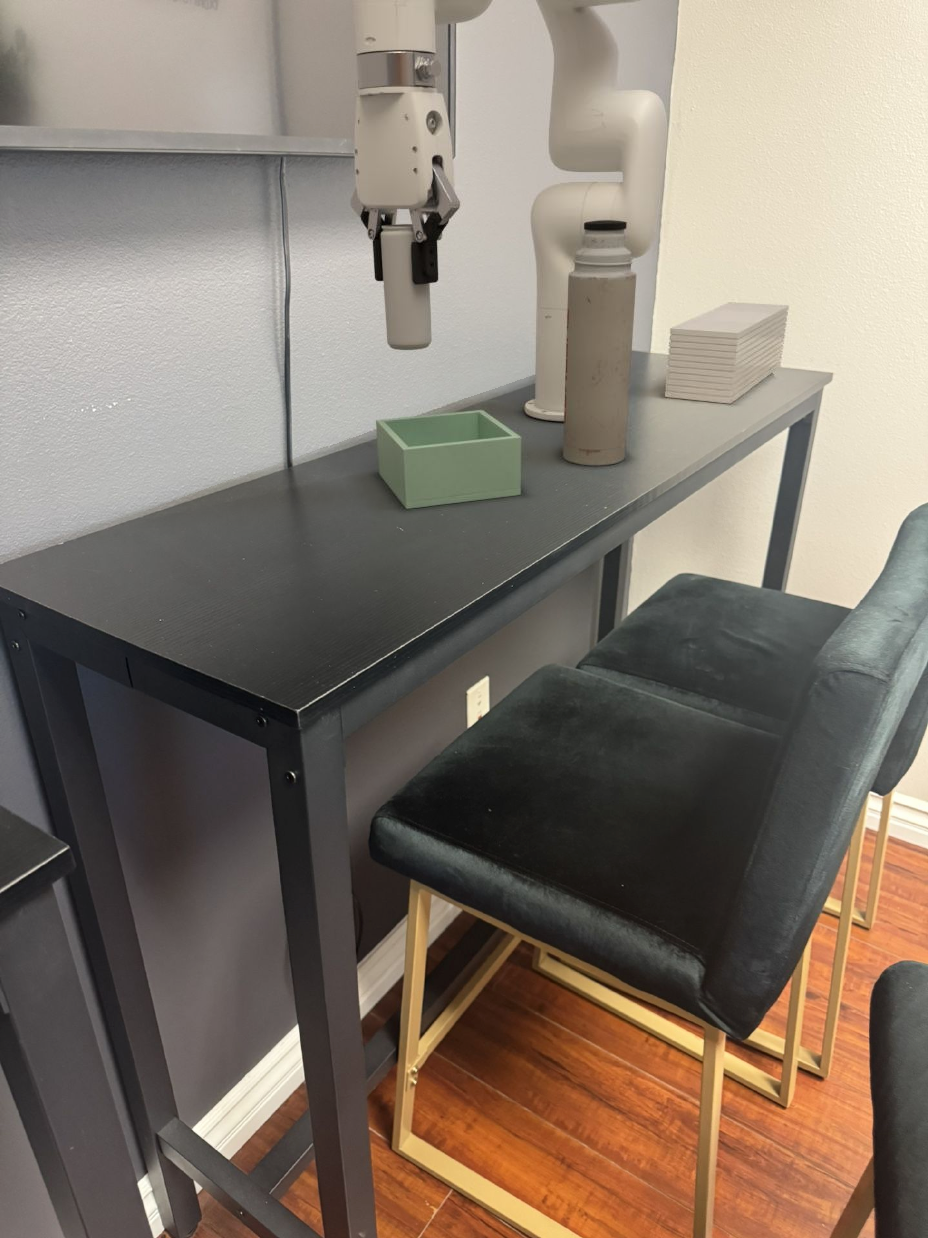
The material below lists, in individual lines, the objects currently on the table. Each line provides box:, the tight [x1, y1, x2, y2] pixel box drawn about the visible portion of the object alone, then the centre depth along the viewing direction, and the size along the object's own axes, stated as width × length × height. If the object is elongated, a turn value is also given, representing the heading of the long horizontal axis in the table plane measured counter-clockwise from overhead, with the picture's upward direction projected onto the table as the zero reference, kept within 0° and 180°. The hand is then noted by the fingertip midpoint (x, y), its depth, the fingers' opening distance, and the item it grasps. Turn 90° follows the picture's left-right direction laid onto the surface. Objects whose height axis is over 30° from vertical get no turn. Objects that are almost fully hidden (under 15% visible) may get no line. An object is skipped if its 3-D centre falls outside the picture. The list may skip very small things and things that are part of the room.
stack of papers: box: [664, 301, 790, 404], centre depth 152 cm, size 32×11×11 cm, turn 149°
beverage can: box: [381, 223, 432, 351], centre depth 94 cm, size 5×5×12 cm
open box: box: [375, 409, 522, 510], centre depth 106 cm, size 14×14×7 cm
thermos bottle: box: [562, 220, 637, 467], centre depth 110 cm, size 8×8×28 cm
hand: (406, 279), depth 93 cm, fingers closed on beverage can, 4 cm apart
